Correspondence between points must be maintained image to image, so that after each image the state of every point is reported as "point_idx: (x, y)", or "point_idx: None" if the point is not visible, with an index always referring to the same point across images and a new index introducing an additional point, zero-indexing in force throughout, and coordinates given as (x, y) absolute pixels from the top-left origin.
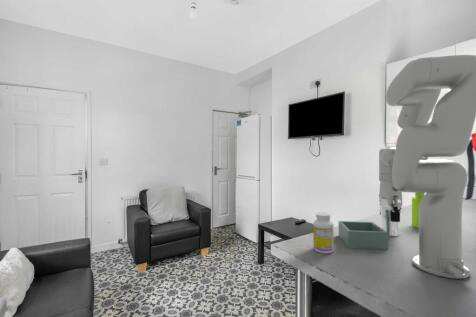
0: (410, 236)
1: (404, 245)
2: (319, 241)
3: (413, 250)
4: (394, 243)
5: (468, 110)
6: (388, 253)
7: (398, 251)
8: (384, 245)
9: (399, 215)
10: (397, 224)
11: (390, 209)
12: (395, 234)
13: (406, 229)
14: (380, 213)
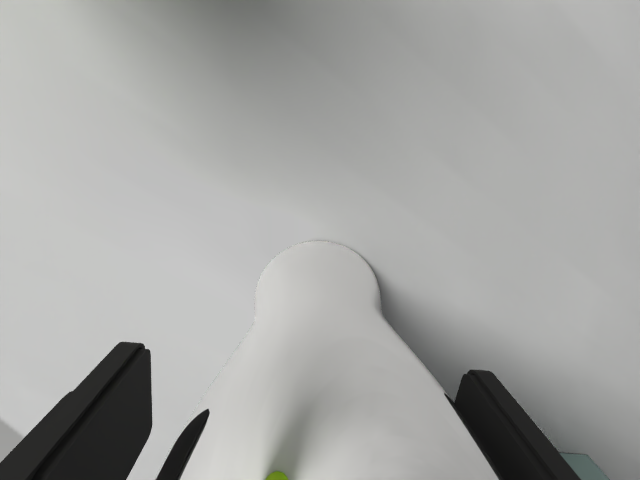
0: (384, 166)
1: (552, 334)
2: None
3: (635, 331)
4: (508, 372)
5: None
6: (629, 472)
7: (622, 416)
8: None
9: (551, 453)
10: (377, 309)
11: None
12: (380, 297)
13: (167, 53)
14: (135, 451)
